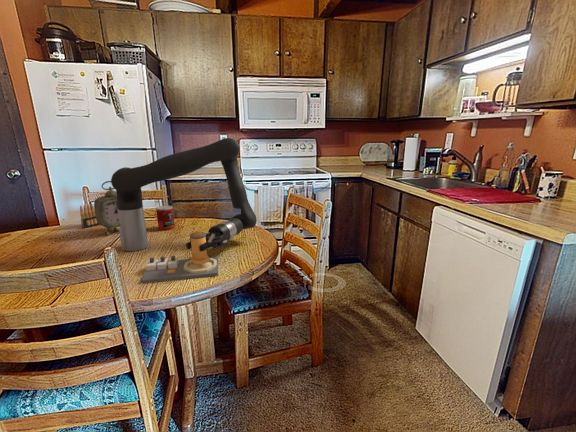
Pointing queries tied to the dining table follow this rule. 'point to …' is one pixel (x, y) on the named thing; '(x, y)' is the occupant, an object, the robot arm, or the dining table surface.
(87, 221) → the ammunition clip
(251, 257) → the dining table surface
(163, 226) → the canned food
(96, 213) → the tabletop clock
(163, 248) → the dining table surface
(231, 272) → the dining table surface
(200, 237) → the cap
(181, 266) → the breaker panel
